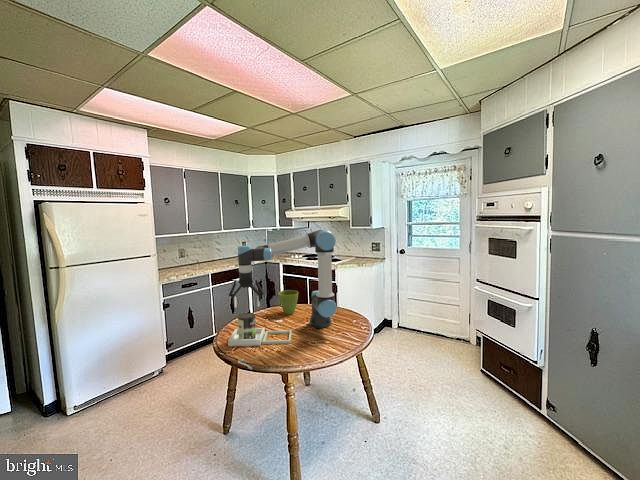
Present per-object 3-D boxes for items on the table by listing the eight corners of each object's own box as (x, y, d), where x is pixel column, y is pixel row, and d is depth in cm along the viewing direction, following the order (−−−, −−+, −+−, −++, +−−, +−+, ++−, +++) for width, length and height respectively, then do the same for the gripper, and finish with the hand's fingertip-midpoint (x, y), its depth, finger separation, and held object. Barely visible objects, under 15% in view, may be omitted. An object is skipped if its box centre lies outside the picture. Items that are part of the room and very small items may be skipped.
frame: (291, 332, 189) (291, 330, 189) (290, 343, 174) (290, 340, 173) (266, 333, 189) (266, 330, 189) (262, 344, 173) (262, 341, 173)
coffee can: (258, 335, 183) (258, 313, 182) (251, 342, 173) (250, 319, 172) (243, 334, 185) (242, 312, 184) (235, 341, 175) (234, 317, 174)
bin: (264, 333, 189) (264, 327, 188) (260, 345, 171) (260, 339, 171) (235, 334, 188) (235, 328, 188) (228, 346, 170) (228, 340, 170)
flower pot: (275, 313, 227) (274, 292, 226) (289, 308, 239) (288, 289, 237) (288, 317, 218) (288, 296, 216) (302, 312, 229) (302, 292, 228)
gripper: (267, 269, 180) (268, 304, 182) (225, 271, 179) (227, 305, 181) (265, 272, 173) (267, 308, 175) (222, 273, 172) (224, 309, 174)
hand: (247, 307), depth 178 cm, fingers open, 13 cm apart
